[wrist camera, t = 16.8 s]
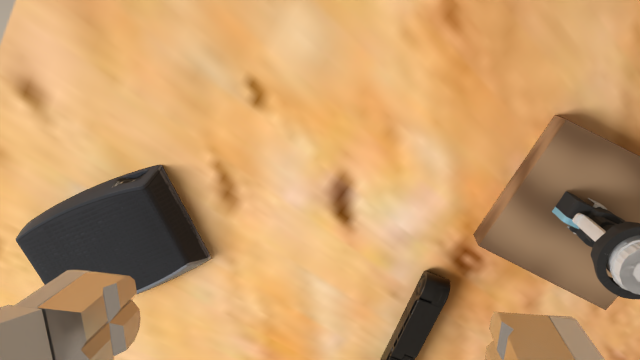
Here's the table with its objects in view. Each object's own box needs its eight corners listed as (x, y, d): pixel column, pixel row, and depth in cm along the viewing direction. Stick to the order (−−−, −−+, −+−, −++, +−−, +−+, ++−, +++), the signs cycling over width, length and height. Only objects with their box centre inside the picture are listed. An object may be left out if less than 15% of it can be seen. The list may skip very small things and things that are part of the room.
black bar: (424, 265, 43) (427, 280, 40) (448, 274, 42) (453, 290, 40) (362, 391, 48) (361, 413, 46) (383, 400, 48) (383, 421, 45)
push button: (643, 207, 35) (738, 264, 25) (604, 258, 37) (679, 329, 27) (571, 174, 35) (638, 218, 26) (535, 225, 37) (586, 285, 27)
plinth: (554, 115, 36) (566, 119, 34) (688, 182, 36) (709, 191, 34) (473, 234, 40) (478, 245, 38) (593, 295, 40) (605, 310, 38)
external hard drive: (217, 262, 47) (201, 281, 43) (85, 307, 51) (60, 328, 48) (161, 156, 44) (139, 166, 40) (27, 215, 49) (-4, 229, 45)
